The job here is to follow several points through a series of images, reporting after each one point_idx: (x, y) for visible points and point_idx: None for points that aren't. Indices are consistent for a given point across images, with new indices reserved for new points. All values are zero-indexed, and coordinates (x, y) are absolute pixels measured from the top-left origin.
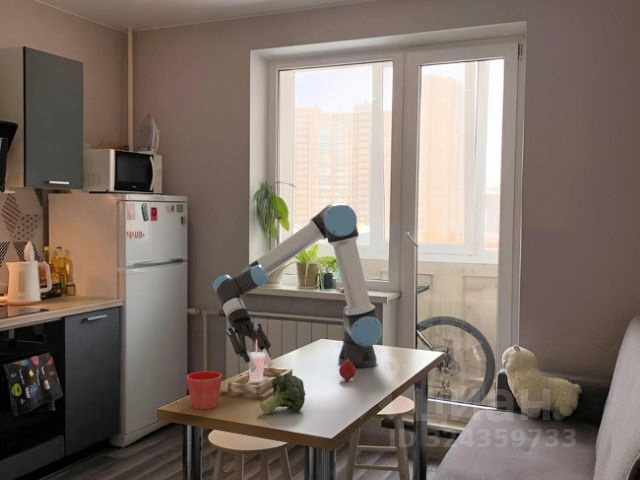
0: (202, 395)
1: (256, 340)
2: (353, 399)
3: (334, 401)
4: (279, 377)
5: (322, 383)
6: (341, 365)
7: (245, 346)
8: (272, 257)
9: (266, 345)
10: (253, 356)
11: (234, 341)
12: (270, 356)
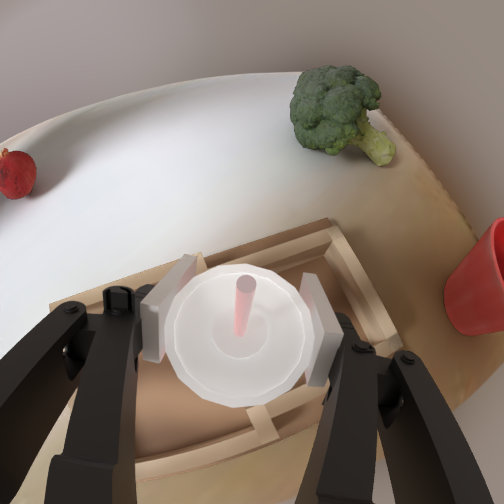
0: (498, 259)
1: (254, 281)
2: (158, 108)
3: (195, 117)
4: (372, 80)
5: (66, 218)
6: (13, 170)
7: (348, 373)
8: None
9: (89, 328)
10: (301, 300)
11: (452, 435)
12: (147, 284)
